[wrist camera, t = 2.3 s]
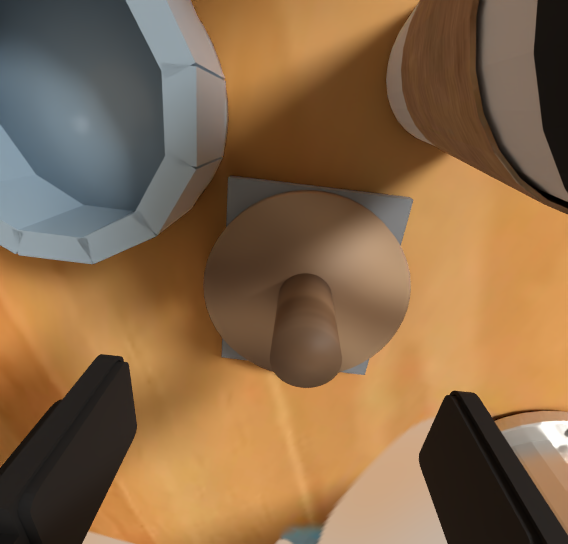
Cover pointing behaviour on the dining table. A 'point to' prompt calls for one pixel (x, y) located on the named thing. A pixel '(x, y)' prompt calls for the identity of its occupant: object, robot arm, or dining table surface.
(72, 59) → the bowl
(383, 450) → the dining table surface
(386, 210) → the mat
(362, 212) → the lid
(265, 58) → the dining table surface
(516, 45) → the coffee cup
